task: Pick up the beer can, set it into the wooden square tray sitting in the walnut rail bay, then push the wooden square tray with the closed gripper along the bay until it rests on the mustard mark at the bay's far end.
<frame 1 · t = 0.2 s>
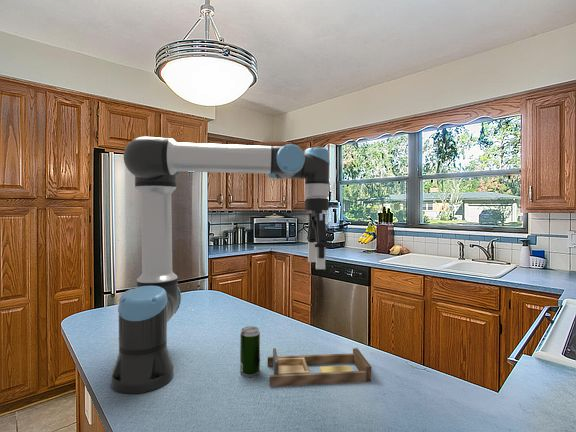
hand: (316, 265, 108), 27 cm above the countertop, fingers open, 13 cm apart
bay: (315, 373, 94), on the countertop
wooden square tray: (290, 363, 94), point 3 cm above the countertop, slide at 0.0 cm
beer can: (250, 373, 95), on the countertop
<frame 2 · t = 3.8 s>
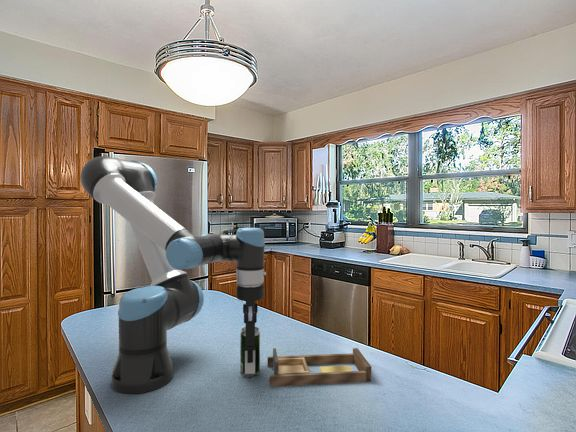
hand: (250, 367, 94), 1 cm above the countertop, fingers closed on beer can, 5 cm apart
beer can: (250, 373, 95), on the countertop, touching gripper
everything else where it was.
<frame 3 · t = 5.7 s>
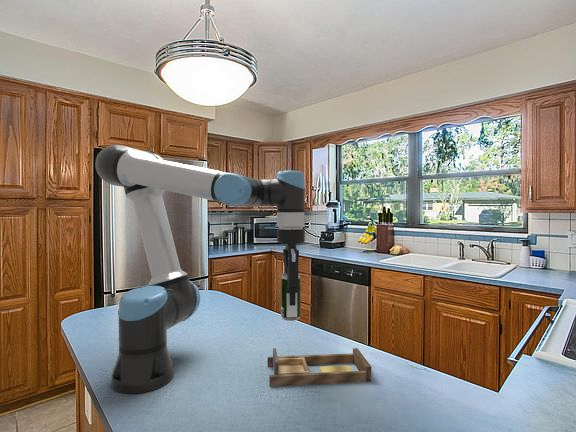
hand: (290, 313, 93), 17 cm above the countertop, fingers closed on beer can, 5 cm apart
beer can: (290, 318, 93), point 15 cm above the countertop, touching gripper
everything else where it was.
when the fingers open (4 cm above the countertop, at t = 7.9 s): beer can drops 2 cm, resting on wooden square tray.
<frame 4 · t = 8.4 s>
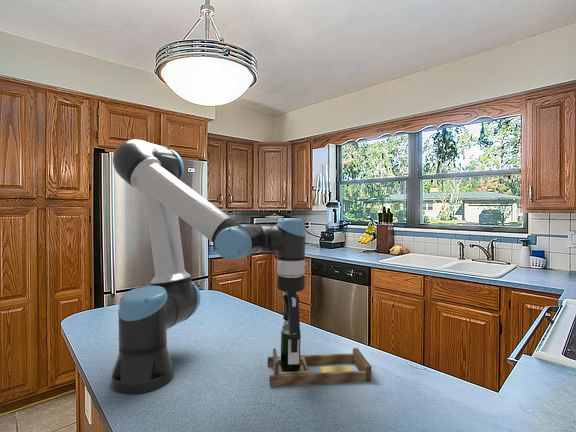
hand: (290, 352, 94), 6 cm above the countertop, fingers open, 13 cm apart
wooden square tray: (290, 363, 94), point 3 cm above the countertop, slide at 0.0 cm, touching beer can
beer can: (290, 371, 94), point 1 cm above the countertop, touching wooden square tray
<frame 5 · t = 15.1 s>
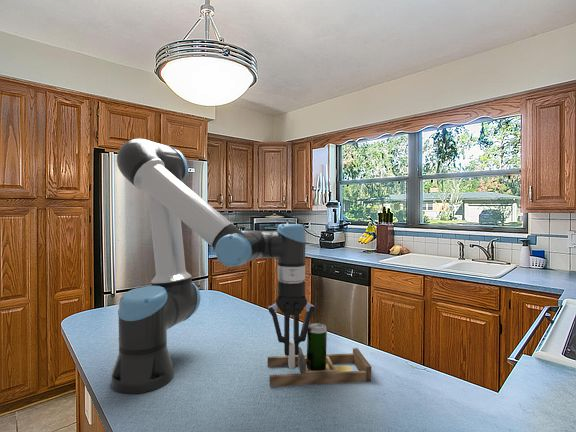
hand: (291, 366, 94), 2 cm above the countertop, fingers closed
wooden square tray: (316, 362, 94), point 3 cm above the countertop, slide at 7.2 cm, touching beer can
beer can: (316, 370, 95), point 1 cm above the countertop, touching wooden square tray, hand
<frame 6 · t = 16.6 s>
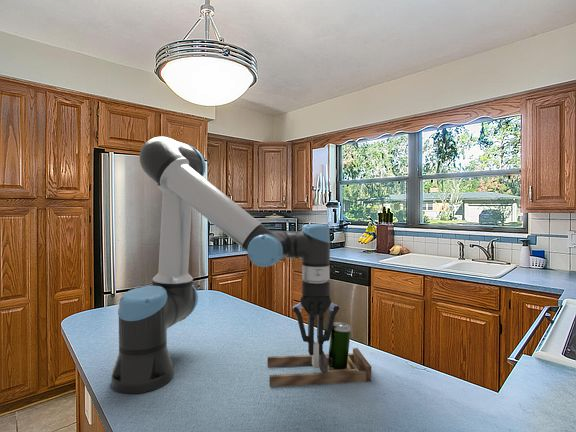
hand: (315, 365, 94), 2 cm above the countertop, fingers closed
wooden square tray: (337, 361, 95), point 3 cm above the countertop, slide at 13.1 cm, touching beer can, gripper
beer can: (337, 368, 95), point 1 cm above the countertop, touching wooden square tray, hand
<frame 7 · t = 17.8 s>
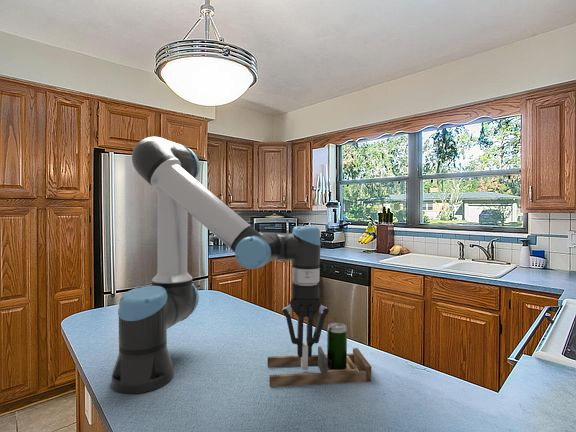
hand: (304, 367, 94), 1 cm above the countertop, fingers closed
wooden square tray: (337, 361, 95), point 3 cm above the countertop, slide at 13.0 cm, touching beer can
beer can: (336, 369, 95), point 1 cm above the countertop, touching wooden square tray
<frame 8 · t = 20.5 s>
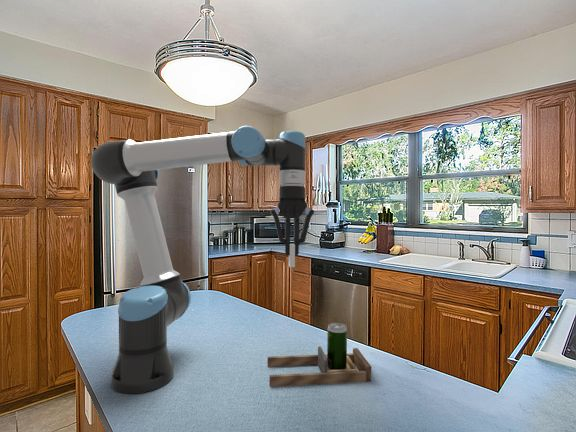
hand: (291, 266, 100), 28 cm above the countertop, fingers closed
nothing on the countertop moved.
at the end: wooden square tray slide at 13.0 cm; beer can inside the target area on the wooden square tray (0.2 cm from its centre), point 0.7 cm above the wooden square tray's base; beer can tilted 0° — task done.
